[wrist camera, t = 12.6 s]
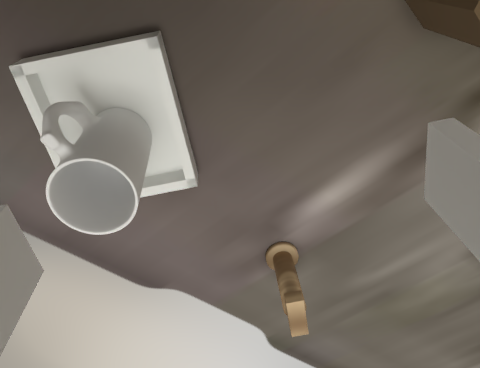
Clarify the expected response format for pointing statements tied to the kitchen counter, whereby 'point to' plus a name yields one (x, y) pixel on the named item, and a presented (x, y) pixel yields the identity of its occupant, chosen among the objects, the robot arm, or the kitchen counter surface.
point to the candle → (450, 18)
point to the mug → (97, 167)
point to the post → (289, 285)
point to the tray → (116, 99)
